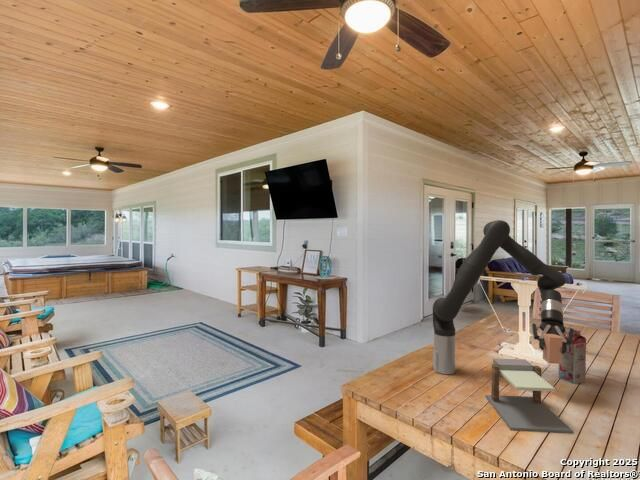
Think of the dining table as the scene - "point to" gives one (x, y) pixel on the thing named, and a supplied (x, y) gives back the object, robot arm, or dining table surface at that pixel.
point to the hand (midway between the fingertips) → (552, 350)
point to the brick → (552, 348)
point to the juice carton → (574, 359)
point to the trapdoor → (521, 375)
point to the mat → (528, 415)
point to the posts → (496, 384)
